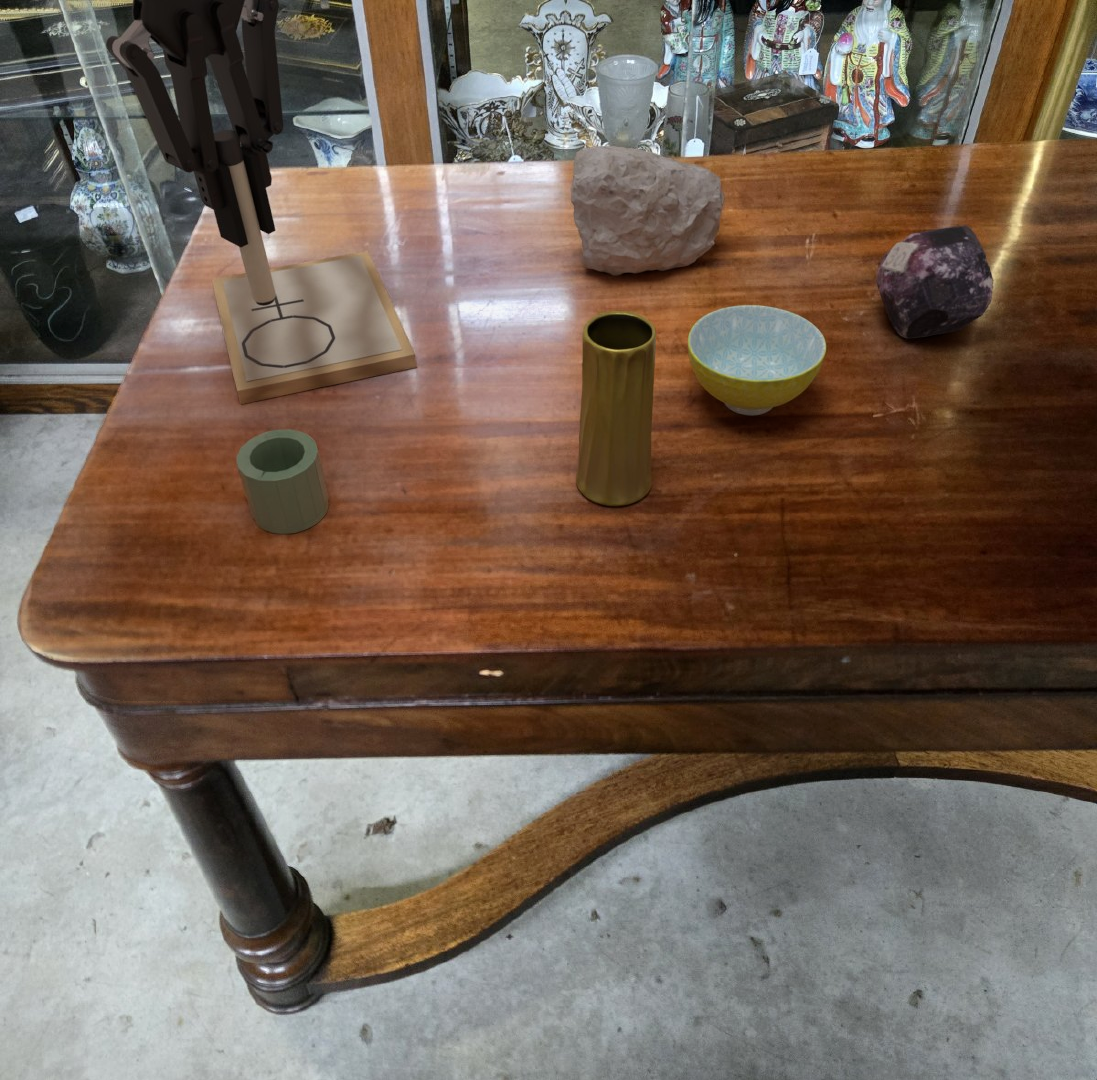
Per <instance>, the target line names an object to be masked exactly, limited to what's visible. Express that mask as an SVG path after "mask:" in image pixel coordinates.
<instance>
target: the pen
mask: <svg viewBox="0 0 1097 1080" xmlns="http://www.w3.org/2000/svg"><path fill="white" fill-rule="evenodd" d="M213 133H214V139H215V145H216V151H217V157H218V163H221V164H223V165H226V166H228V167H229V169H230V173H231V177H232V181H233V185H234V189H235V193H236V197H237V201H238V205H239V209H240V213H241V216H242V220H243V224H244V228H245V232H246V236H247V240H248V245H245V246H243V247H239V246H238V248H239V252H240V255H241V259H242V264H243V267H244V273H246V275H247V279H248V283H249V287H250V291H251V295H252V298H253V300H254V301H255V302H256V303H257V304H258V305H261V306H265V305H269V304H271V303H273V302H274V300H275V299H274V298H275V296H276V293H275V289H274V284H273V280H272V276H271V272H270V269H271V267H270V264H269V261H268V255H267V251H266V247H265V243H264V239H263V234H262V231H261V230H260V226H259V222H258V218H257V214H256V210H255V206H254V201H253V197H252V193H251V189H250V185H249V181H248V177H247V172H246V168H245V164H244V160H243V158H244V157H243V153H242V149H241V143H240V140H239V136H238V133H237V132H236V131H233V129H222V130H218V131H214V132H213Z"/></svg>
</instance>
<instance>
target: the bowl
mask: <svg viewBox="0 0 1097 1080" xmlns="http://www.w3.org/2000/svg"><path fill="white" fill-rule="evenodd" d="M687 353H688V358H689V364H690V366H691V369H692V371H693V374H694V376H695V377H696V379H697V381H698V382H699V384H700V385H701V386H702V388H703V389H704V390H705V391H707V392H708V394H710V395H711V396H712V397H713V398H715V399H717V400H718V401H720V402H722V403H724V405H725V407H727V409H728V410H730V411H732V412H734V413H736V414H740V415H744V416H759V415H763V414H766V413H768V412H769V411H771V410H772V409H773V408H775V407H779V406H782V405H785V404H787V403H788V402H790V401H792V400H794V399H796V398H797V397H798V396H799V395H801V394H803V392H805V390H806V389H808V387H809V386H810V385H811V384H812V382H813V381H814V380H815V378H816V376H817V375H818V373H819V372H820V370H821V367H822V365H823V362H824V359H825V356H826V353H827V342H826V339H825V337H824V335H823V333H822V332H821V330H820V329H819V328H818V327H817V326H816V325H815V324H813V323H812V322H811V321H809V320H808V319H807V318H804V317H803V316H802V315H799V314H797V313H794V312H792V311H789V310H784V309H781V308H778V307H774V306H767V305H757V304H752V305H751V304H743V305H733V306H728V307H723V308H719V309H716V310H713V311H711V312H709V313H707V314H704V315H703V316H701V317H700V318H699V319H698V320H697V321H696V322H695V323H694V324H693V325H692V327H691V328H690V330H689V333H688V337H687Z"/></svg>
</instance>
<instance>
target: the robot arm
mask: <svg viewBox="0 0 1097 1080" xmlns="http://www.w3.org/2000/svg"><path fill="white" fill-rule="evenodd" d="M279 9H280V3H279V0H132V6H131V17H132V20H133V21H132V23H130V25H129V26H128V27H127V28H126V30H125V31H124V32H123V33H122V35H121V36H116V35H111V36H109V37H108V38H107V40H106V43H105V46H106V50H107V51H108V53H109V54H110V55H111V56H112V57H113V58H114V59H115V61H116V62H117V63H118V64H119V65H120V66H121V67H122V69H124V71H125V73H126V75H127V77H128V80H129V82H130V84H131V86H132V88H133V91H134V94H135V96H136V98H137V100H138V103H139V104H140V107H141V109H142V112H143V114H144V116H145V118H146V121H147V123H148V125H149V127H150V130H151V132H152V134H153V136H154V139H155V141H156V143H157V145H158V148H159V150H160V152H161V155H162V157H163V159H164V161H165V162H166V163H168V164H169V165H171V166H173V167H175V168H177V169H179V170H181V171H184V172H186V173H193V175H194V178H195V182H196V185H197V189H198V193H199V195H200V200H201V202H202V204H203V205H204V206H205V207H207V208H208V209H209V208H210V209H211V210H213V214H214V217H215V221H216V224H217V228H218V232H219V236H220V238H222V239H224V240H225V241H227V242H229V243H231V244H233V245H234V246H236V247H238V248H239V247H243V246H245V245H248V240H247V236H246V232H245V228H244V224H243V220H242V216H241V213H240V209H239V205H238V201H237V197H236V193H235V189H234V185H233V181H232V177H231V173H230V169H229V167H228V166H226V165H223V164H221V163H218V157H217V151H216V145H215V139H214V133H215V132H214V127H213V121H212V116H211V109H210V108H211V107H210V104H209V103H210V101H209V97H208V91H207V90H208V89H207V84H206V77H207V75H208V66H207V60H208V61H209V63H210V67H211V69H212V72H213V75H214V78H215V82H216V84H217V87H218V90H219V93H220V95H221V98H222V99H221V100H222V102H223V104H224V107H225V111H226V113H227V116H228V120H229V121H230V124H231V129H232V130H233V131H236V132H237V133H238V136H239V140H240V145H241V149H242V153H243V157H244V158H243V160H244V164H245V168H246V172H247V177H248V181H249V185H250V189H251V193H252V197H253V201H254V206H255V210H256V214H257V218H258V222H259V226H260V231H261V232H263V233H265V234H267V235H270V234H273V233H274V232H276V225H275V222H274V217H273V212H272V209H271V204H270V199H269V195H268V192H267V188H269V187H271V186H272V181H273V177H272V173H271V168H270V164H269V160H268V155H267V154H269V153H271V152H272V150H273V148H274V143H273V141H271V140H270V139H271V138H272V137H273V136H274V135H275V136H278V135H280V134H282V132H283V130H284V116H283V115H284V114H283V107H282V105H283V104H282V96H281V86H280V85H281V84H280V74H279V66H278V65H279V64H278V53H277V43H276V41H277V40H276V33H275V30H276V25H277V21H278V14H279ZM240 19H241V34H242V43H243V49H242V46H241V43H240V39H239V36H238V33H237V30H238V26H239V23H240ZM150 39H151V40H152V41H153V42H154V43H155V44H156V45H157V46H159V47H160V48H161V49H162V52H163V59H164V62H165V66H166V69H167V70H168V71H169V73H170V76H171V80H172V87H173V88H172V89H173V92H174V93H173V94H174V97H175V104H176V109H177V111H176V109H175V107H174V103H173V102H172V99H171V97H170V95H169V92H168V90H167V87H166V84H165V82H164V80H163V78H162V75H161V73H160V72H159V69H158V68H157V66H156V65H155V64H154V62H153V60H155V53H154V51H153V49H152V47H151V44H150ZM243 52H244V53H243ZM206 59H207V60H206ZM243 61H245V67H244V64H243Z"/></svg>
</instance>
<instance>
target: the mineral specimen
mask: <svg viewBox="0 0 1097 1080" xmlns="http://www.w3.org/2000/svg"><path fill="white" fill-rule="evenodd" d="M875 282H876V286H877V289H878V293H879V295H880V298H881V301H882V303H883V306H884V308H885V311H886V314H887V317H888V319H889V321H890V323H891V325H892V327H893V329H894V330H895V332H896V333H897V334H898V335H899V336H900V337H902V338H903V339H918V338H925V337H926V338H927V337H930V336H935V335H941V334H942V335H943V334H947V333H953V332H957V331H960V330H962V329H963V328H965V327H966V326H968V325H970V324H972V323H973V322H974V321H977V320H978V319H979V318H981V317H983V316H984V314H985V313H986V312H987V310H988V308H989V306H990V305H991V303H992V300H993V290H994V282H995V280H994V277H993V274H992V271H991V267H990V265H989V263H988V260H987V255H986V252H985V250H984V248H983V246H982V244H981V243H980V239H979V238H978V237H977V235H976V233H975V232H974V231H973V229H972V228H971V227H969V226H968V225H967V224H965V225H956V226H949V227H943V228H936V229H930V230H925V231H920V232H913V233H911V234H908V236H907V237H906V238H904V239H903V240H902V241H899V242H896V243H895V244H894V245H893V247H892V248H891V249H890V250H889V251H887V252H886V253H884V254H883V256H881V260H880V261H879V264H878V267H877V272H876V279H875Z"/></svg>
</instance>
